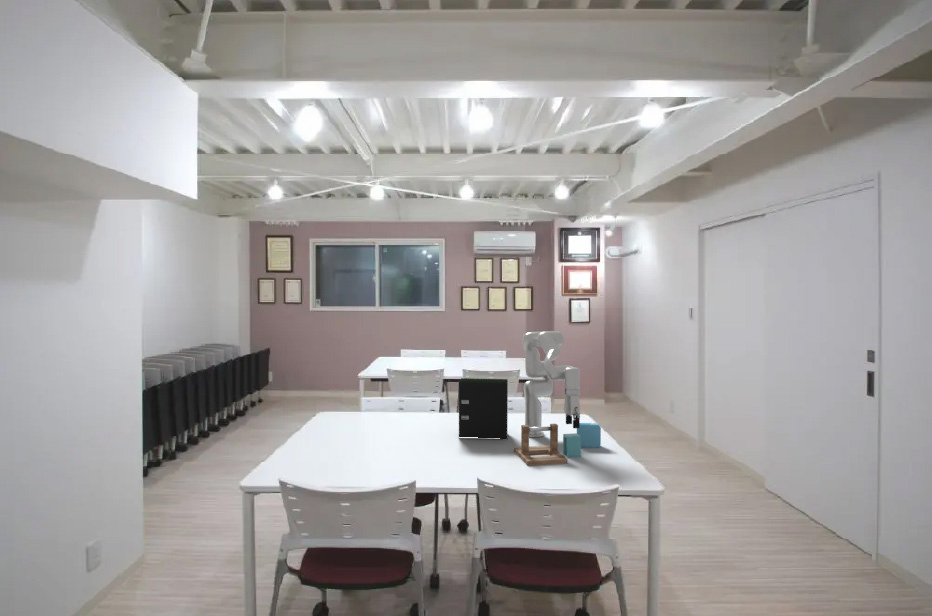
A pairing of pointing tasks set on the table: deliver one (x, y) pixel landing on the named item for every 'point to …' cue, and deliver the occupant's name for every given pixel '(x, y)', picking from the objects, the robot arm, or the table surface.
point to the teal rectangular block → (572, 445)
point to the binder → (483, 408)
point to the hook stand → (540, 447)
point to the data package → (590, 434)
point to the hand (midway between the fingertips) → (572, 426)
